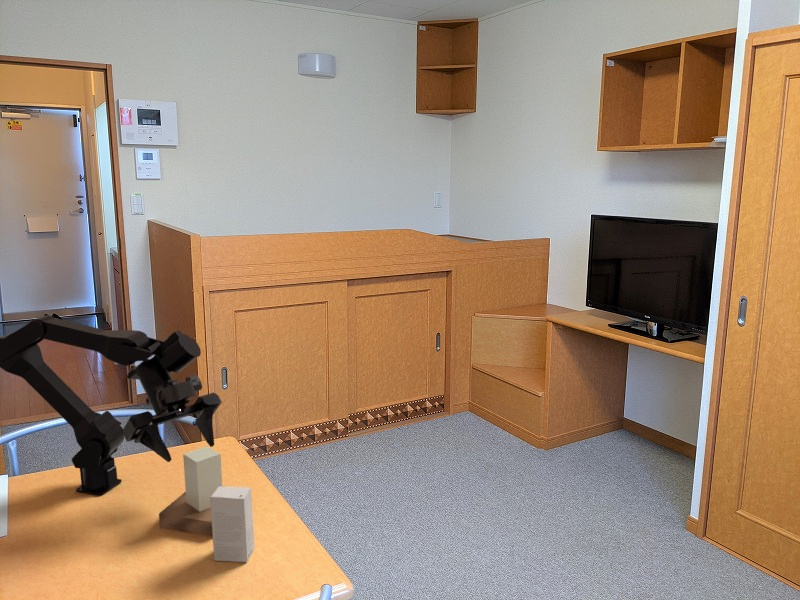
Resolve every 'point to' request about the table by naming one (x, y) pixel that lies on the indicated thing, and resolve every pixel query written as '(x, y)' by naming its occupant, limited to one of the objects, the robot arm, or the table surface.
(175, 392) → the robot arm
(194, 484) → the pale grey tall block
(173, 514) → the walnut block
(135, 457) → the table surface
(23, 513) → the table surface
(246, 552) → the skincare box
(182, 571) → the table surface
